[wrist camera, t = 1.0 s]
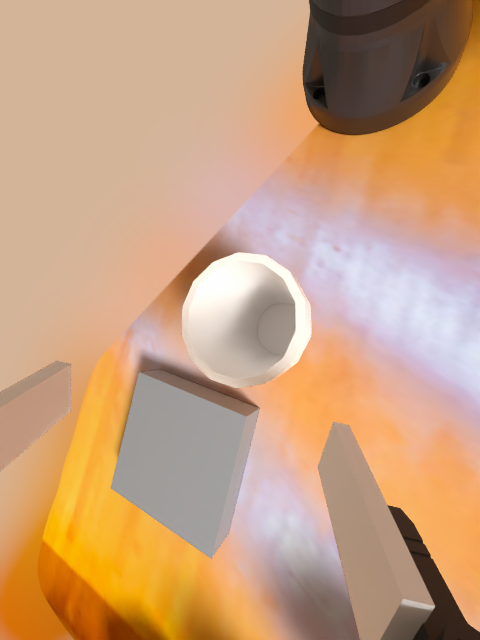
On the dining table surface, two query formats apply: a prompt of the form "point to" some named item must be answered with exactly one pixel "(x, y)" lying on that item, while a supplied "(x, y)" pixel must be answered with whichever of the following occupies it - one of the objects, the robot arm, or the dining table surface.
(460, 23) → the robot arm
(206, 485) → the slate plinth
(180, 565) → the dining table surface
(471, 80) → the dining table surface
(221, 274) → the foam cup
